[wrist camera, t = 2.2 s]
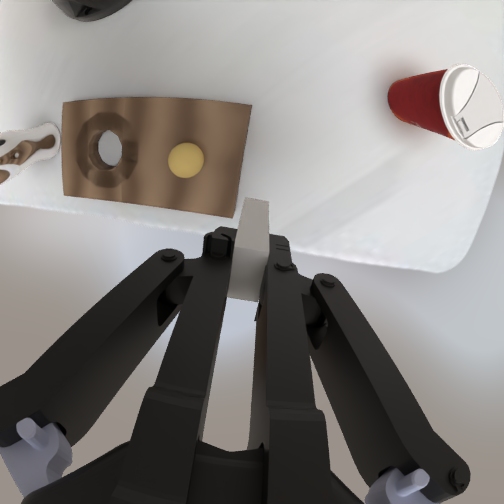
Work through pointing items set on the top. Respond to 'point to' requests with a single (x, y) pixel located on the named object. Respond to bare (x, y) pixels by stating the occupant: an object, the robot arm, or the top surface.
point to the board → (155, 151)
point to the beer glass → (26, 148)
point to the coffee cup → (451, 105)
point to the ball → (186, 160)
